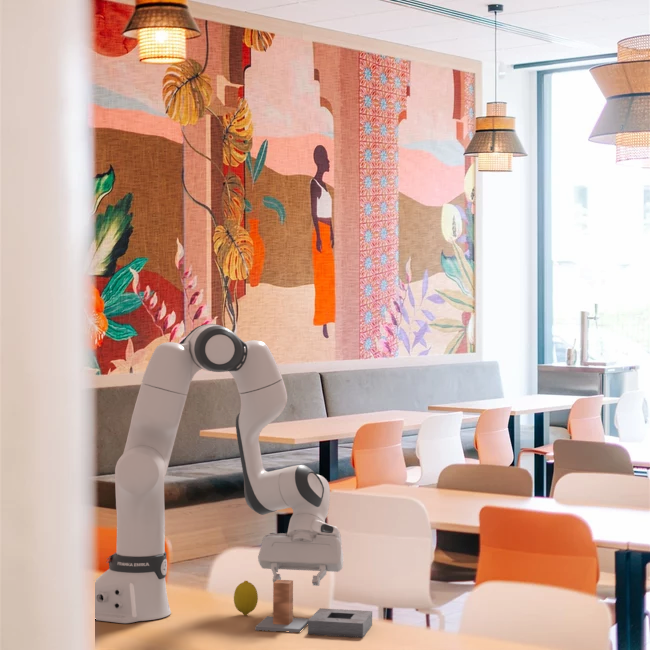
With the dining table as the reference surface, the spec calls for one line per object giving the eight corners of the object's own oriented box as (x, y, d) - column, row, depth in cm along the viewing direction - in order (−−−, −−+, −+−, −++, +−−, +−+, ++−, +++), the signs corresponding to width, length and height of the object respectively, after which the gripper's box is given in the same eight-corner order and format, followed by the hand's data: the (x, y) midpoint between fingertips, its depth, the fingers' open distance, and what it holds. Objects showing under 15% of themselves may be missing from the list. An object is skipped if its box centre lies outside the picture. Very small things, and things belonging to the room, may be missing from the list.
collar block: (307, 634, 228) (307, 620, 228) (319, 621, 240) (319, 608, 240) (362, 637, 226) (362, 623, 226) (372, 624, 238) (372, 611, 238)
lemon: (254, 618, 242) (254, 583, 243) (230, 617, 244) (231, 582, 244) (260, 613, 248) (260, 578, 248) (237, 612, 249) (237, 577, 249)
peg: (273, 623, 234) (273, 582, 235) (277, 620, 238) (277, 579, 238) (288, 624, 234) (289, 583, 234) (292, 621, 237) (293, 580, 237)
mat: (255, 630, 232) (255, 626, 232) (267, 619, 242) (267, 616, 242) (299, 632, 230) (299, 629, 230) (310, 622, 239) (310, 618, 240)
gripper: (261, 525, 257) (250, 573, 247) (344, 528, 253) (336, 577, 243) (266, 540, 261) (255, 589, 251) (348, 543, 257) (340, 593, 247)
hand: (295, 583), depth 247 cm, fingers open, 8 cm apart
